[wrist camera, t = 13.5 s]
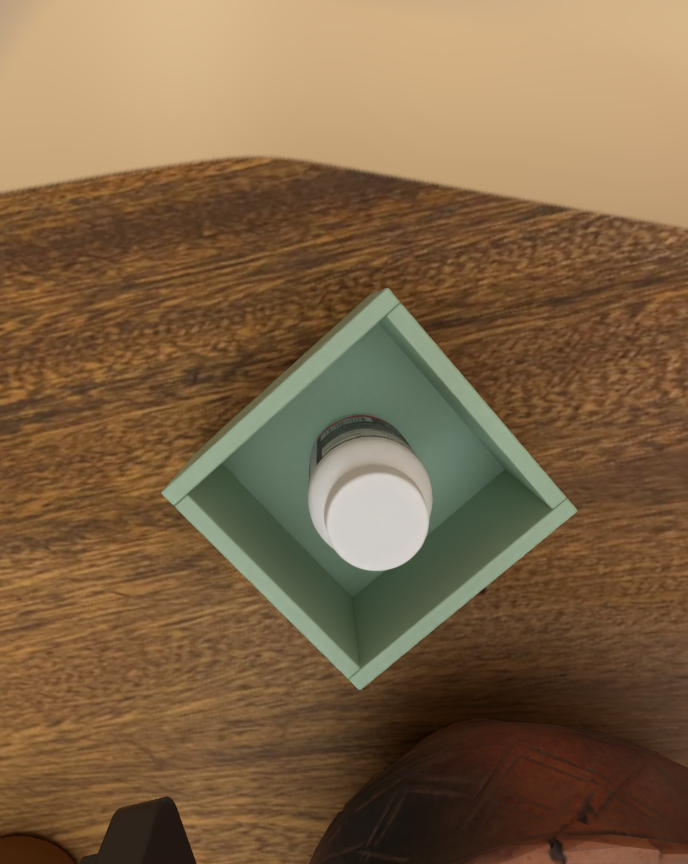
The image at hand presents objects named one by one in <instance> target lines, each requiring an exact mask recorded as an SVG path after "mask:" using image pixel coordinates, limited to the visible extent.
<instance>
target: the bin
mask: <svg viewBox="0 0 688 864" xmlns="http://www.w3.org/2000/svg"><path fill="white" fill-rule="evenodd" d="M352 414H368V415H373V416H377V417H380V418H382V419H384V420H386V421H387V422H389V423H390V424H392V425H393V426H394V427H395V428H396V429H397V430H398V431H399V432H400V433H401V435H402V436H403V437H404V438H405V440H406V441H407V442H408V443H409V445H410V447H411V448H412V449H413V451H414V452H415V454H416V455H417V457H418V458H419V459H420V461H421V462H422V463H423V465H424V467H425V469H426V471H427V473H428V476H429V479H430V482H431V487H432V497H433V501H432V510H431V514H430V518H429V528H428V532H427V536H426V538H425V540H424V543H423V545H422V546H421V548H420V549H419V551H418V552H417V553H416V554H415V555H414V556H413V557H412V558H411V559H410V560H408V561H407V562H406V563H404V564H402V565H400V566H398V567H396V568H392V569H388V570H383V571H370V570H364V569H361V568H357V567H355V566H353V565H351V564H350V563H348V562H347V561H345V560H344V559H343V558H341V557H340V556H339V555H338V553H337V552H336V551H335V549H333V548H332V547H331V546H329V545H328V544H327V543H326V542H325V541H324V539H323V538H322V537H321V536H320V535H319V533H318V532H317V530H316V528H315V526H314V524H313V522H312V519H311V516H310V511H309V506H308V487H309V465H310V456H311V452H312V448H313V446H314V443H315V441H316V439H317V438H318V436H319V435H320V433H321V432H322V431H323V430H324V429H325V428H326V427H327V426H328V425H330V424H331V423H332V422H334V421H335V420H337V419H340V418H341V417H344V416H348V415H352ZM161 493H162V495H163V496H164V497H165V498H166V499H167V500H168V501H169V502H170V503H171V504H173V505H175V508H176V509H177V510H178V511H179V512H180V513H181V514H182V515H183V516H184V517H185V518H186V519H187V520H188V521H189V522H190V523H191V524H193V525H194V526H195V527H196V528H197V529H198V530H199V531H200V532H201V533H202V534H203V535H204V536H205V537H206V538H207V539H208V540H209V541H210V542H211V543H212V544H213V545H214V546H215V547H216V548H217V549H218V550H219V551H220V552H221V553H222V554H223V555H224V556H225V557H226V558H227V559H228V560H229V561H230V562H231V563H232V564H233V565H234V566H235V567H236V568H237V569H238V570H239V571H240V572H241V573H242V574H243V575H244V576H245V577H246V578H247V579H248V580H249V581H250V582H251V583H252V584H253V585H254V586H255V587H256V588H257V589H258V590H259V591H260V592H261V593H262V594H263V595H264V596H265V597H266V598H267V599H268V600H269V601H270V602H271V603H272V604H273V605H274V606H275V607H276V608H277V609H278V610H279V611H280V612H281V613H282V614H283V615H284V616H285V617H286V618H287V619H288V620H289V621H290V622H291V623H292V624H293V625H294V626H295V627H296V628H297V629H298V630H299V631H300V632H301V633H302V634H303V635H304V636H305V637H306V638H307V639H308V640H309V641H310V642H311V643H312V644H313V645H314V646H315V647H316V648H317V649H318V650H319V651H320V652H321V653H322V654H323V655H324V656H325V657H326V658H327V659H328V660H329V661H330V662H331V663H332V664H333V665H334V666H335V667H336V668H337V669H338V670H339V671H340V672H341V673H342V674H343V675H344V676H345V677H346V678H349V681H350V682H351V683H352V684H353V685H354V686H355V687H356V688H357V689H358V690H361V689H362V688H364V687H365V686H366V685H367V684H369V683H370V682H371V681H372V680H373V679H375V678H376V677H377V676H378V675H379V674H381V673H382V672H383V671H384V670H386V669H387V668H388V667H389V666H390V665H392V664H393V663H394V662H395V661H396V660H398V659H399V658H400V657H401V656H403V655H404V654H405V653H406V652H407V651H409V650H410V649H411V648H412V647H413V646H415V645H416V644H417V643H418V642H420V641H421V640H422V639H423V638H424V637H426V636H427V635H428V634H429V633H430V632H432V631H433V630H434V629H435V628H436V627H438V626H439V625H440V624H441V623H443V622H444V621H445V620H446V619H447V618H449V617H450V616H451V615H452V614H453V613H455V612H456V611H457V610H458V609H460V608H461V607H462V606H463V605H464V604H466V603H467V602H468V601H469V600H470V599H472V598H473V597H474V596H475V595H477V594H478V593H479V592H480V591H481V590H483V589H484V588H485V587H486V586H487V585H489V584H490V583H491V582H492V581H494V580H495V579H496V578H497V577H498V576H500V575H501V574H502V573H503V572H504V571H506V570H507V569H508V568H509V567H510V566H512V565H513V564H514V563H515V562H517V561H518V560H519V559H520V558H521V557H523V556H524V555H525V554H526V553H527V552H529V551H530V550H531V549H532V548H534V547H535V546H536V545H537V544H538V543H540V542H541V541H542V540H543V539H544V538H546V537H547V536H548V535H549V534H551V533H552V532H553V531H554V530H555V529H557V528H558V527H559V526H560V525H561V524H563V523H564V522H565V521H566V520H568V519H569V518H570V517H571V516H572V515H574V514H575V513H576V512H577V509H576V508H575V507H574V505H573V504H572V503H571V502H570V501H569V500H568V499H567V498H566V496H565V495H564V494H563V493H562V491H561V490H560V489H559V488H558V487H557V486H556V484H555V483H554V482H553V481H552V480H551V478H550V477H549V476H548V475H547V474H546V473H545V471H544V470H543V469H542V468H541V467H540V466H539V464H538V463H537V462H536V461H535V460H534V458H533V457H532V456H531V455H530V454H529V453H528V451H527V450H526V449H525V448H524V447H523V446H522V444H521V443H520V442H519V441H518V440H517V439H516V437H515V436H514V435H513V434H512V433H511V431H510V430H509V429H508V428H507V427H506V426H505V424H504V423H503V422H502V421H501V420H500V419H499V417H498V416H497V415H496V414H495V413H494V411H493V410H492V409H491V408H490V407H489V406H488V404H487V403H486V402H485V401H484V400H483V399H482V397H481V396H480V395H479V394H478V393H477V391H476V390H475V389H474V388H473V387H472V386H471V384H470V383H469V382H468V381H467V380H466V379H465V377H464V376H463V375H462V374H461V373H460V372H459V370H458V369H457V368H456V367H455V366H454V364H453V363H452V362H451V361H450V360H449V359H448V357H447V356H446V355H445V354H444V353H443V352H442V350H441V349H440V348H439V347H438V346H437V344H436V343H435V342H434V341H433V340H432V339H431V337H430V336H429V335H428V334H427V333H426V332H425V330H424V329H423V328H422V327H421V326H420V324H419V323H418V322H417V321H416V320H415V319H414V317H413V316H412V315H411V314H410V313H409V312H408V310H407V309H406V308H405V307H404V306H403V304H401V303H399V300H398V299H397V297H396V296H395V295H394V294H393V293H392V292H391V290H390V289H389V288H385V289H383V290H380V291H377V292H374V293H371V294H369V295H368V296H367V297H366V298H365V299H364V300H363V301H362V302H361V303H360V304H358V305H357V306H356V307H355V308H354V309H353V310H352V311H351V312H350V313H349V314H347V315H346V316H345V317H344V318H343V319H342V320H341V321H340V322H339V323H337V324H336V325H335V326H334V327H333V328H332V329H331V330H330V331H329V332H328V333H326V334H325V335H324V336H323V337H322V338H321V339H320V340H319V341H318V342H317V343H315V344H314V345H313V346H312V347H311V348H310V349H309V350H308V351H307V352H306V353H304V354H303V355H302V356H301V357H300V358H299V359H298V360H297V361H296V362H295V363H293V364H292V365H291V366H290V367H289V368H288V369H287V370H286V371H285V372H283V373H282V374H281V375H280V376H279V377H278V378H277V379H276V380H275V381H274V382H272V383H271V384H270V385H269V386H268V387H267V388H266V389H265V390H264V391H263V392H261V393H260V394H259V395H258V396H257V397H256V398H255V399H254V400H253V401H252V402H250V403H249V404H248V405H247V406H246V407H245V408H244V409H243V410H242V411H240V412H239V413H238V414H237V415H236V416H235V417H234V418H233V419H232V420H231V421H229V422H228V423H227V424H226V425H225V426H224V427H223V428H222V429H221V430H220V431H218V432H217V433H216V434H215V435H214V436H213V437H212V438H211V439H210V440H209V441H207V442H206V443H205V444H204V445H203V446H202V447H201V448H200V449H199V450H198V451H196V452H195V454H194V455H193V456H192V457H191V458H190V459H189V461H188V462H187V463H186V464H185V465H184V466H183V467H182V469H181V470H180V471H179V472H178V473H177V474H176V475H175V477H174V478H173V479H172V480H171V481H170V482H169V483H168V485H167V486H166V487H165V488H164V489H163V490H162V492H161Z"/></svg>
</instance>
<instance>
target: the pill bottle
mask: <svg viewBox="0 0 688 864" xmlns="http://www.w3.org/2000/svg"><path fill="white" fill-rule="evenodd" d="M432 501H433V497H432V487H431V482H430V479H429V476H428V473H427V471H426V469H425V467H424V465H423V463H422V462H421V461H420V459H419V458H418V457H417V455H416V454H415V452H414V451H413V449H412V448H411V447H410V445H409V443H408V442H407V441H406V440H405V438H404V437H403V436H402V435H401V433H400V432H399V431H398V430H397V429H396V428H395V427H394V426H393V425H392V424H390V423H389V422H387V421H386V420H384V419H382V418H380V417H377V416H373V415H368V414H352V415H348V416H344V417H341V418H340V419H337V420H335V421H334V422H332V423H331V424H330V425H328V426H327V427H326V428H325V429H324V430H323V431H322V432H321V433H320V435H319V436H318V438H317V439H316V441H315V443H314V446H313V448H312V452H311V456H310V465H309V487H308V506H309V511H310V516H311V519H312V522H313V524H314V526H315V528H316V530H317V532H318V533H319V535H320V536H321V537H322V538H323V539H324V541H325V542H326V543H327V544H328V545H329V546H331V547H332V548H333V549H335V551H336V552H337V553H338V555H339V556H340V557H341V558H343V559H344V560H345V561H347V562H348V563H350V564H351V565H353V566H355V567H357V568H361V569H364V570H370V571H383V570H388V569H392V568H396V567H398V566H400V565H402V564H404V563H406V562H407V561H408V560H410V559H411V558H412V557H413V556H414V555H415V554H416V553H417V552H418V551H419V549H420V548H421V546H422V545H423V543H424V540H425V538H426V536H427V532H428V528H429V518H430V514H431V510H432Z"/></svg>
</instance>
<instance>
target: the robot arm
mask: <svg viewBox="0 0 688 864" xmlns="http://www.w3.org/2000/svg"><path fill="white" fill-rule="evenodd" d="M78 864H196V861H195V858H194V855H193V853H192V850H191V847H190V844H189V841H188V838H187V835H186V833H185V830H184V827H183V824H182V821H181V818H180V816H179V813H178V810H177V807H176V805H175V803H174V801H173V800H172V799H171V798H170V797H163V798H159V799H155V800H150V801H146V802H142V803H138V804H134V805H130V806H126V807H122V808H119V809H118V810H117V811H116V812H115V813H114V815H113V817H112V819H111V822H110V824H109V827H108V829H107V832H106V834H105V837H104V839H103V842H102V845H101V847H100V850H99V852H98V854H93V855H89V856H85V857H83V858H82V859H81V861H80V862H79V863H78Z"/></svg>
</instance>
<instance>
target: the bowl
mask: <svg viewBox="0 0 688 864" xmlns="http://www.w3.org/2000/svg"><path fill="white" fill-rule="evenodd" d="M309 864H688V768H686V767H684V766H682V765H680V764H678V763H676V762H674V761H672V760H670V759H668V758H666V757H664V756H662V755H661V754H659V753H657V752H654V751H652V750H649V749H646V748H644V747H641V746H639V745H636V744H633V743H631V742H628V741H625V740H622V739H619V738H616V737H614V736H611V735H608V734H605V733H602V732H598V731H592V730H587V729H581V728H575V727H568V726H561V725H554V724H537V723H523V722H506V721H502V720H499V719H484V718H478V719H472V720H466V721H460V722H457V723H455V724H452V725H449V726H447V727H444V728H442V729H439V730H437V731H436V732H434V733H432V734H431V735H429V736H427V737H426V738H424V739H422V740H421V741H420V742H418V743H417V744H416V745H415V746H414V747H413V748H412V749H411V750H410V751H409V752H408V753H407V754H405V755H404V756H402V757H401V758H400V759H398V760H397V761H396V762H394V763H393V764H392V765H390V766H389V767H388V768H386V769H385V770H384V771H382V772H381V773H379V774H378V775H377V776H375V777H374V778H372V779H371V780H370V781H369V782H368V783H367V784H366V785H365V786H364V787H363V788H362V789H361V790H360V791H359V792H358V793H357V794H356V795H355V796H354V797H353V798H351V799H350V800H349V801H348V802H347V803H346V804H345V806H344V809H343V811H340V812H338V814H337V815H336V817H335V818H334V820H333V821H332V823H331V824H330V826H329V827H328V829H327V830H326V832H325V834H324V836H323V837H322V839H321V841H320V843H319V844H318V846H317V848H316V849H315V851H314V853H313V856H312V858H311V860H310V863H309Z"/></svg>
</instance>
